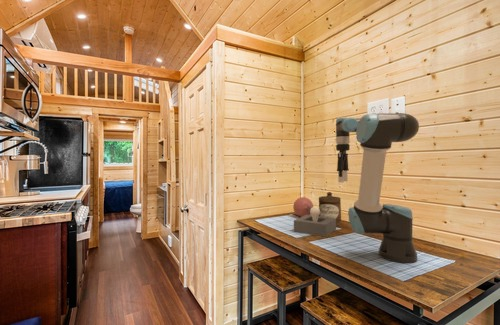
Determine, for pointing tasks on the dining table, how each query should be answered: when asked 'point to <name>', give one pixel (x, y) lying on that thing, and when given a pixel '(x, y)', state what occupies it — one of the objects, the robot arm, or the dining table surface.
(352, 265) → the dining table surface
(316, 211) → the lightbulb
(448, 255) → the dining table surface
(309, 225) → the socket block
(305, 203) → the balloon
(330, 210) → the wooden container
